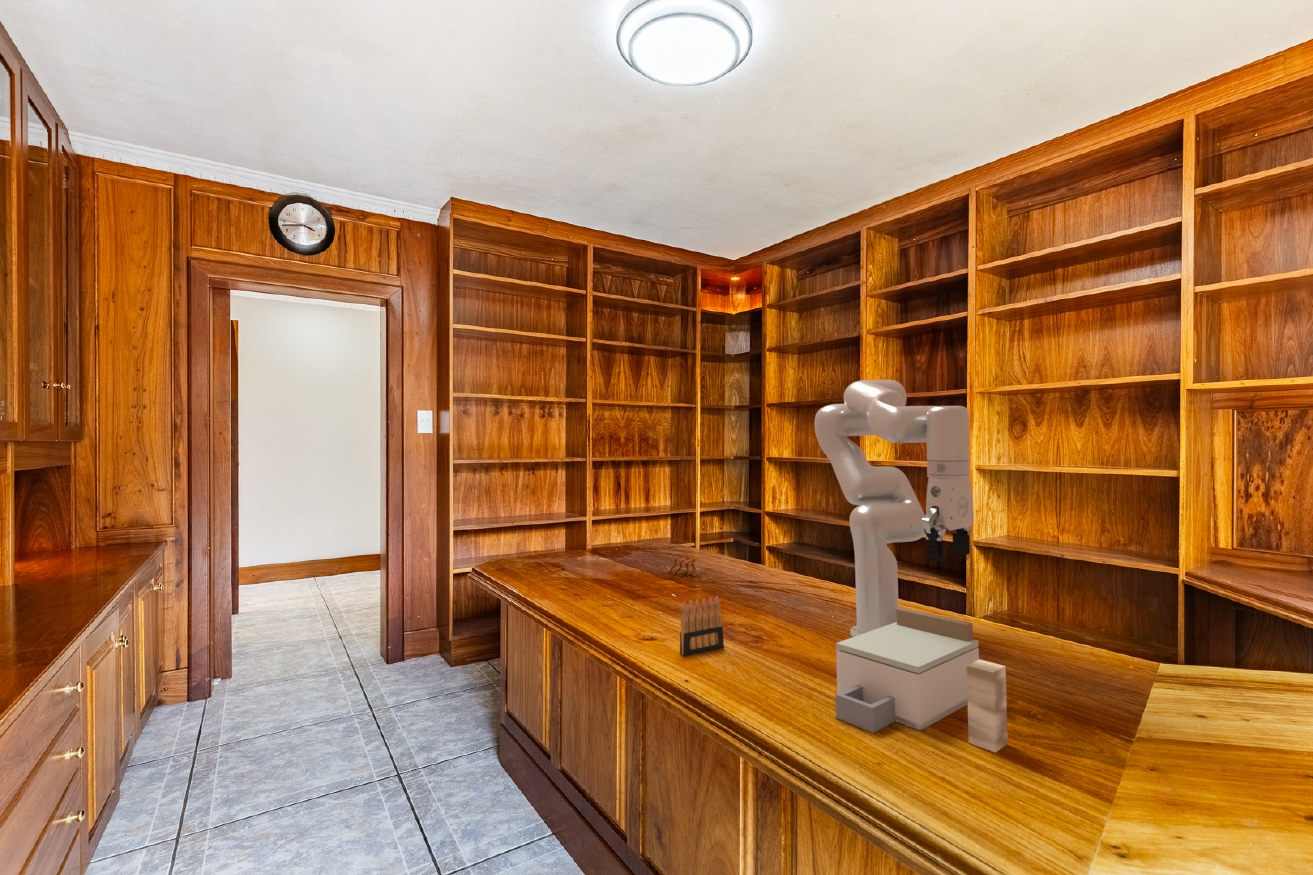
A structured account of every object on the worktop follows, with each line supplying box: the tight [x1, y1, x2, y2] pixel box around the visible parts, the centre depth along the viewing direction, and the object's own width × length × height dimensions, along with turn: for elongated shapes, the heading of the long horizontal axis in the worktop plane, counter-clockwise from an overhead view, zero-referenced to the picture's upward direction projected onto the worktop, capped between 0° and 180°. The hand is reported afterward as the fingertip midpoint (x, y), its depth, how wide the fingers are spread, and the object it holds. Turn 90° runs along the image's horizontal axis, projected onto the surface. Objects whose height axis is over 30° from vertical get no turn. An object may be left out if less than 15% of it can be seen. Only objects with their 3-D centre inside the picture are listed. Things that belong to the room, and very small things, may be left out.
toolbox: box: [834, 646, 980, 734], centre depth 112 cm, size 26×16×9 cm, turn 127°
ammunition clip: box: [679, 595, 725, 657], centre depth 142 cm, size 11×2×12 cm, turn 118°
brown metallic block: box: [967, 658, 1009, 754], centre depth 97 cm, size 4×4×12 cm
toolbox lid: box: [835, 607, 979, 673], centre depth 114 cm, size 20×16×4 cm
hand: (949, 557), depth 122 cm, fingers open, 9 cm apart
